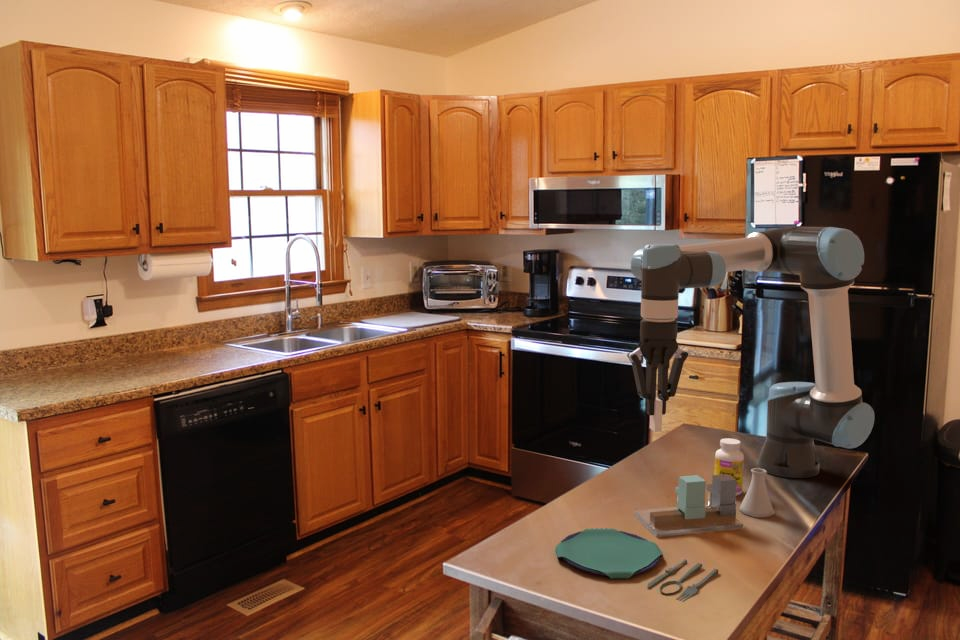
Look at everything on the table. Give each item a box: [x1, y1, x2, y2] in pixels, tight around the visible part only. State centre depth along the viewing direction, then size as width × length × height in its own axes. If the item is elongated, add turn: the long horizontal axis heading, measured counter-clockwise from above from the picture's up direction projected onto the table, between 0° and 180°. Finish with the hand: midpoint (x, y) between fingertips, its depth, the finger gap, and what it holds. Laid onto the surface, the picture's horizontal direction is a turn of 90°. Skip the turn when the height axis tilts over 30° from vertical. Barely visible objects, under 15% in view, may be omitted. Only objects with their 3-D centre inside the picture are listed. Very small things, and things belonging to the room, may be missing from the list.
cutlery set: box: [554, 527, 719, 602], centre depth 158 cm, size 20×30×2 cm, turn 48°
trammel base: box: [633, 474, 744, 538], centre depth 177 cm, size 20×12×11 cm, turn 102°
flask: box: [739, 467, 775, 518], centre depth 183 cm, size 7×7×10 cm
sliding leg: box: [674, 474, 707, 519], centre depth 177 cm, size 4×8×9 cm, turn 12°
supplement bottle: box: [713, 437, 745, 496], centre depth 195 cm, size 7×7×13 cm
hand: (655, 429), depth 171 cm, fingers closed
